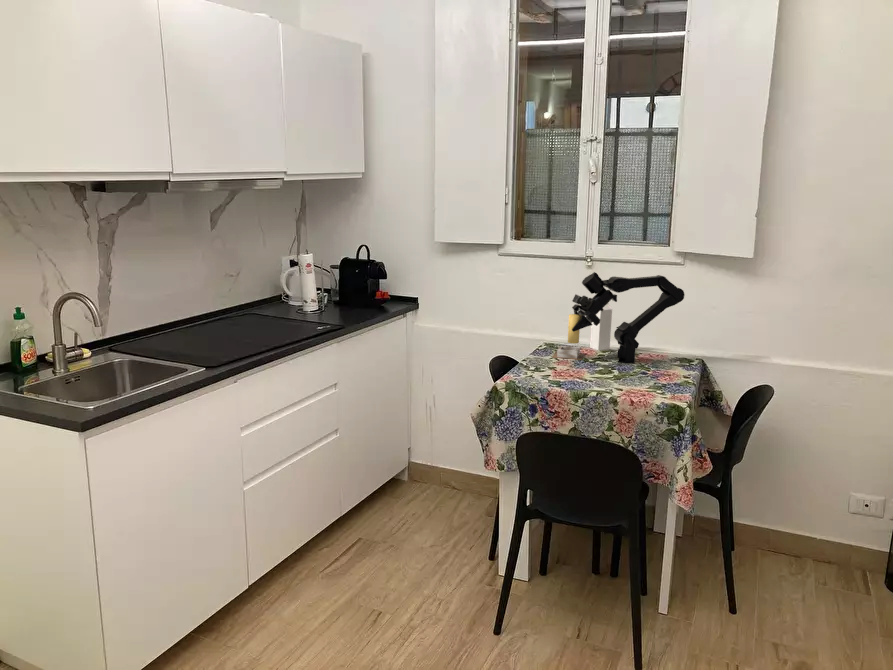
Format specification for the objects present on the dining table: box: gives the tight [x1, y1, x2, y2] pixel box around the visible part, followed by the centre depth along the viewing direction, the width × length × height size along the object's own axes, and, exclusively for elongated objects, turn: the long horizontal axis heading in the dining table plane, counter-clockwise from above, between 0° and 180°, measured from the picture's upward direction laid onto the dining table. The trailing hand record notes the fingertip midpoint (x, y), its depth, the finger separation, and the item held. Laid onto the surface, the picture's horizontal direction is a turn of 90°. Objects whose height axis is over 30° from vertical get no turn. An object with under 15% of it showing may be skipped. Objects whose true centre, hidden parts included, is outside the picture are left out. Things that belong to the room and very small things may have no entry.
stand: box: [551, 345, 585, 361], centre depth 290 cm, size 12×12×4 cm
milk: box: [589, 302, 613, 351], centre depth 303 cm, size 6×6×22 cm
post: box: [567, 313, 581, 344], centre depth 282 cm, size 4×4×11 cm
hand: (570, 329), depth 282 cm, fingers closed on post, 4 cm apart
